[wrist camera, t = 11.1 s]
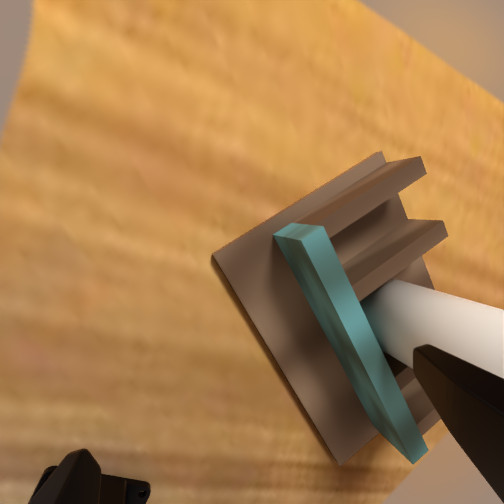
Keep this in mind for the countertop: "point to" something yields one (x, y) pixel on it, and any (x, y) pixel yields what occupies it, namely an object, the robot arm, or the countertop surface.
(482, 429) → the robot arm
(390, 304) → the white cylinder
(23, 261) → the countertop surface
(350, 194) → the comb rack
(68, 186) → the countertop surface
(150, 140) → the countertop surface
